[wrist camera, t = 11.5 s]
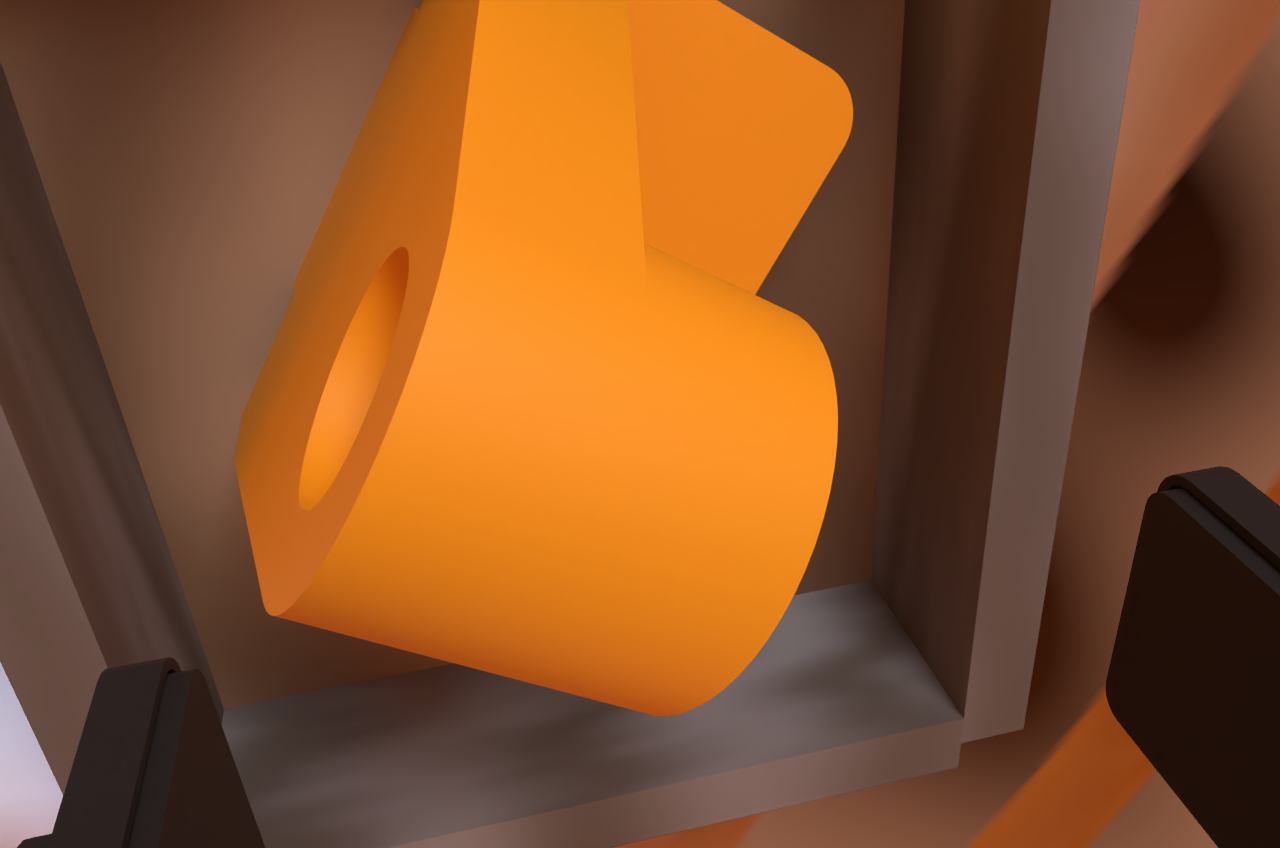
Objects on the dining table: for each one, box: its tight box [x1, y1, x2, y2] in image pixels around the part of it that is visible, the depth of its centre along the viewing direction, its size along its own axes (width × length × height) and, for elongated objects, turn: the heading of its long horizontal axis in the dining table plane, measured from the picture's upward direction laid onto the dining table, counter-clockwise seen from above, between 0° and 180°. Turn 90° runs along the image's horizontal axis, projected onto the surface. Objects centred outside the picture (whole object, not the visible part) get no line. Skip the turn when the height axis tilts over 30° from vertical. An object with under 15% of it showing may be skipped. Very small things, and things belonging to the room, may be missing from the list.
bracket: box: [234, 0, 853, 716], centre depth 16 cm, size 11×7×12 cm, turn 151°
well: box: [0, 0, 1140, 848], centre depth 20 cm, size 20×24×6 cm
